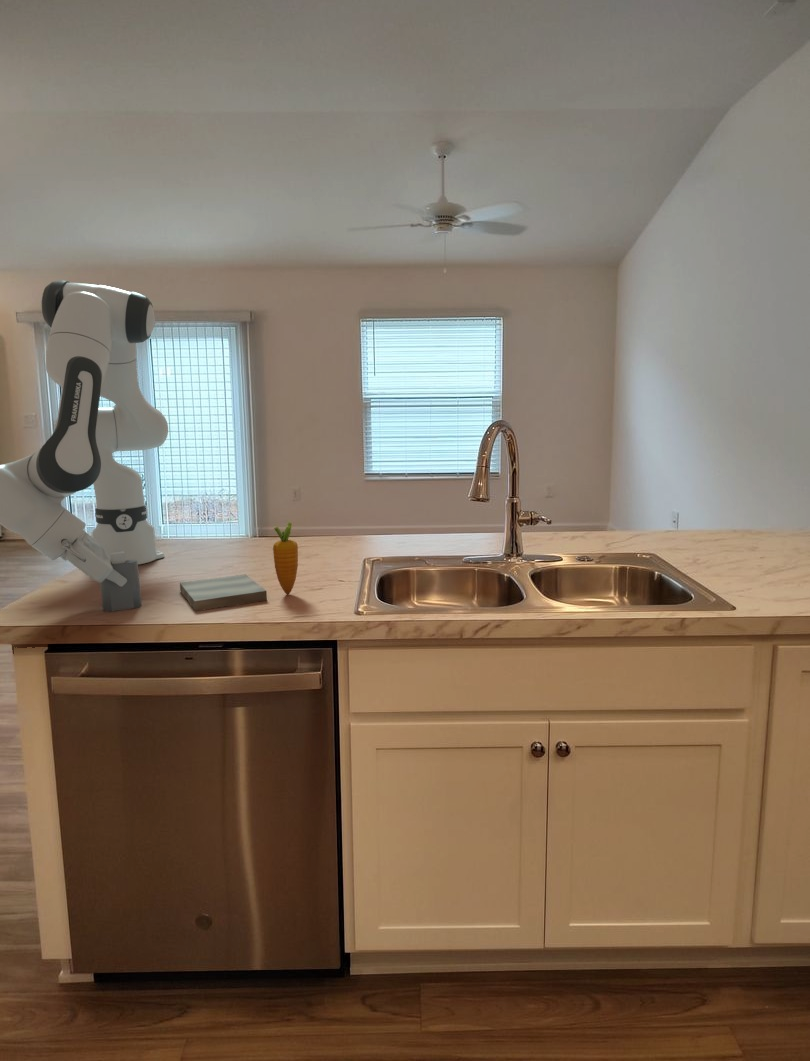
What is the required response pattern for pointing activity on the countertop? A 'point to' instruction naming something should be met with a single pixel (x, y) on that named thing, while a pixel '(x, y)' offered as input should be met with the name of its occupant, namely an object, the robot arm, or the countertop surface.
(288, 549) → the carrot
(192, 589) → the striped sage slab
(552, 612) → the countertop surface
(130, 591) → the block
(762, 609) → the countertop surface
